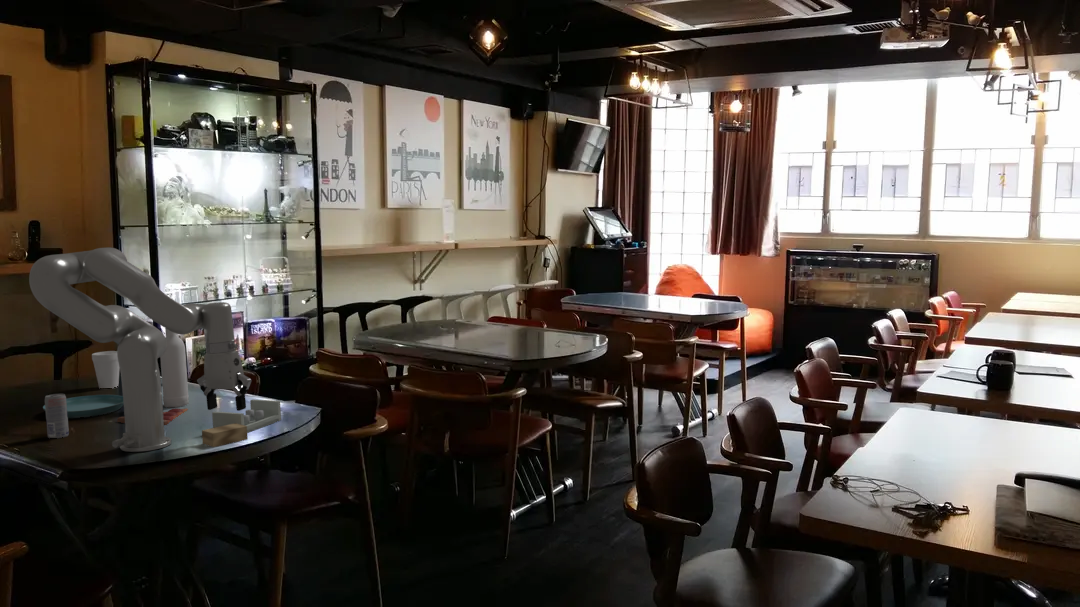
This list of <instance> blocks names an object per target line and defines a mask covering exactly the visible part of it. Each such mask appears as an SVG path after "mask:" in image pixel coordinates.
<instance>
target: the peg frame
mask: <svg viewBox="0 0 1080 607" xmlns="http://www.w3.org/2000/svg"><path fill="white" fill-rule="evenodd" d="M249 401H250V409H246V410H245V414H244V413H243V412H229V411H228V412H227V411H217V410H216V411H215V410H214V411H212V413H211V416H212V428H215V427H220V426H225V425H229V424H234V423H237V424H240V425H244V426H247V434H248V433H251V432H255V431H256V430H260V429H261V428H264V427H267V426H271V425H273V424H275V422H276V423H278V422H281V421H282V410H281V409H282V408H281V400H269V399H267V400H266V399H254V398H252V399H250V400H249ZM280 420H281V421H280ZM277 421H278V422H277Z"/></svg>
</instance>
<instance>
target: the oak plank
mask: <svg viewBox="0 0 1080 607" xmlns="http://www.w3.org/2000/svg"><path fill="white" fill-rule="evenodd" d="M201 436H202V437H201V438H202V444H203V445H205V444H206V446H208V445H209V447H212V448H216V447H220V446H224V445H229V443H230V444H233V442H234V443H237V442H242V440H243V441H246V440H248V433H247V426H244V425H240V424H237V423H234V424H229V425H225V426H220V427H215V428H213V427H212V428H207V429H202V430H201Z"/></svg>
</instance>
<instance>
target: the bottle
mask: <svg viewBox="0 0 1080 607" xmlns="http://www.w3.org/2000/svg"><path fill="white" fill-rule="evenodd" d="M164 329H165V330H164V331H165V332H164V333H165V338H166V341H167V347H166V350H165V352H164V353H163V355H162V356H160V357H159V358H160V368H161V369H160V370H161V372H160V374H161V388H162V404H163V407H164V408H180V406H181V407H185V405H186V406H188V405H190V401H189V400H190V396H189V386H188V374H187V373H188V370H187V356H186V345H185V343H184V340H183V339H181V337H179V336H178V335H179V334H176V333H174V332H171V331H170V330H168V329H166V328H165V327H164ZM187 404H188V405H187Z"/></svg>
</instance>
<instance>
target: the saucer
mask: <svg viewBox="0 0 1080 607" xmlns="http://www.w3.org/2000/svg"><path fill="white" fill-rule="evenodd" d="M66 403H67V416H68V419H81V418H80V417H84V418H91V417H90V416H92V417H98V415H99V416H102V415H103V414H104V415H108V414H111V412H112V413H115V412H117V411H119V410H120V409H121V408H122V407H124V402H123V395H117V394H94V395H93V394H92V395H82V396H75V397H66ZM42 410H44V411H45V404H44V405H43V406H42ZM45 413H46V411H45ZM107 413H108V414H107Z"/></svg>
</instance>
